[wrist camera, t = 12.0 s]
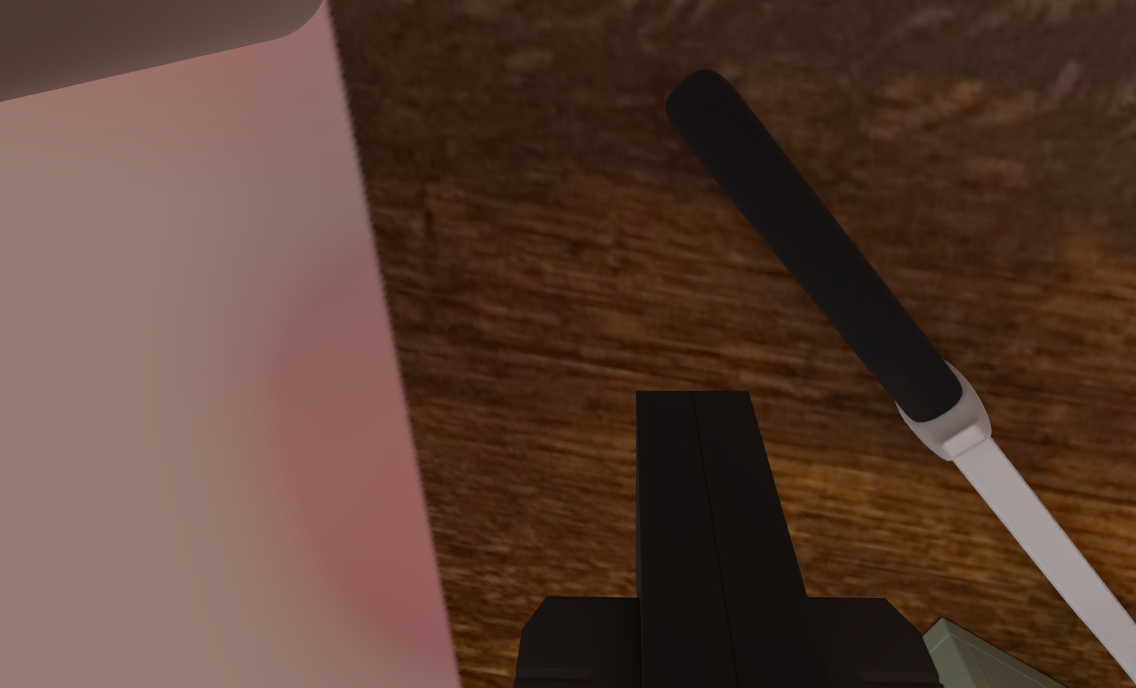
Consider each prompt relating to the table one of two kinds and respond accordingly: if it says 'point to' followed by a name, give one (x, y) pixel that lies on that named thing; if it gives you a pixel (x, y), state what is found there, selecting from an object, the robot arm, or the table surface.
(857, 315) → the knife
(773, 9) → the table surface
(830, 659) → the robot arm
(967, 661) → the cabinet
